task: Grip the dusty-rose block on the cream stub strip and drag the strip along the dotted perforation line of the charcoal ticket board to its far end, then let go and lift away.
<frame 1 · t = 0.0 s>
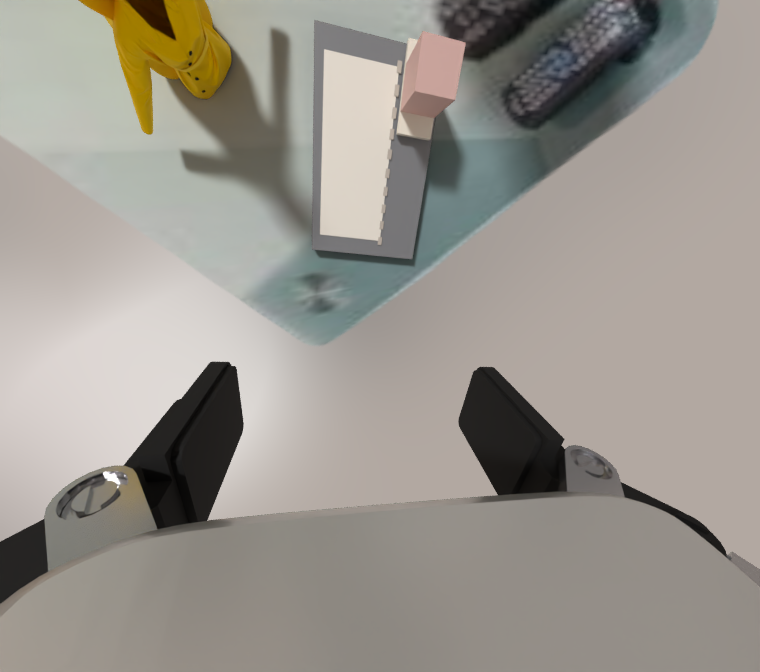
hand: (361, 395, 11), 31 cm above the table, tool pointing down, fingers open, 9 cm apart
stub: (428, 82, 27), point 5 cm above the table, slide at 0.0 cm
ticket board: (370, 163, 34), on the table
figure statuette: (195, 53, 28), on the table
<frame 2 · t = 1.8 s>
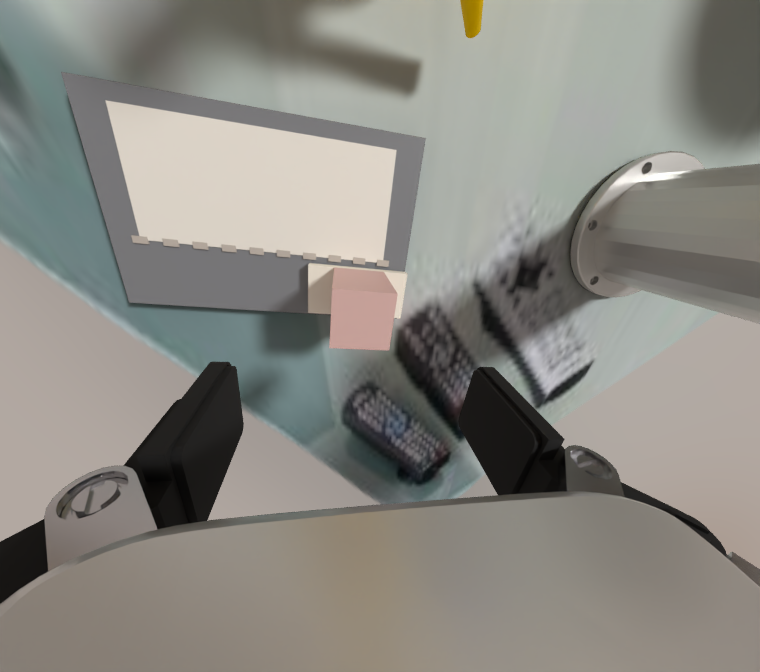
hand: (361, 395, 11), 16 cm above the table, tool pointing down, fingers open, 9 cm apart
stub: (359, 303, 20), point 5 cm above the table, slide at 0.0 cm
ticket board: (273, 223, 22), on the table
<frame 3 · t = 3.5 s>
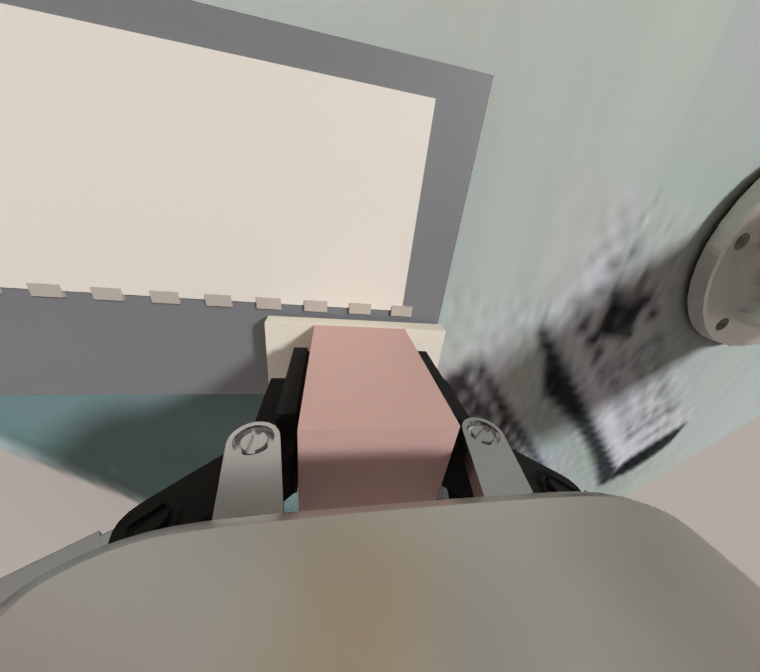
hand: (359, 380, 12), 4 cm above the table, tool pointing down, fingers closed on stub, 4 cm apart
stub: (362, 401, 10), point 5 cm above the table, slide at 0.0 cm, touching gripper
ticket board: (201, 243, 12), on the table
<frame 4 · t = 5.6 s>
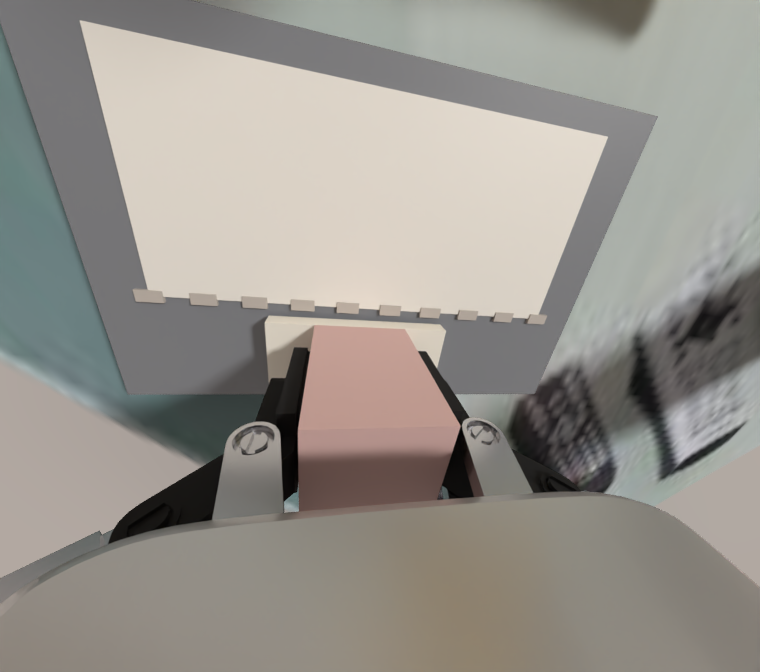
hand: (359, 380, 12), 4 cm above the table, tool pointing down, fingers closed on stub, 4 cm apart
stub: (362, 401, 10), point 5 cm above the table, slide at 7.4 cm, touching gripper
ticket board: (369, 259, 13), on the table
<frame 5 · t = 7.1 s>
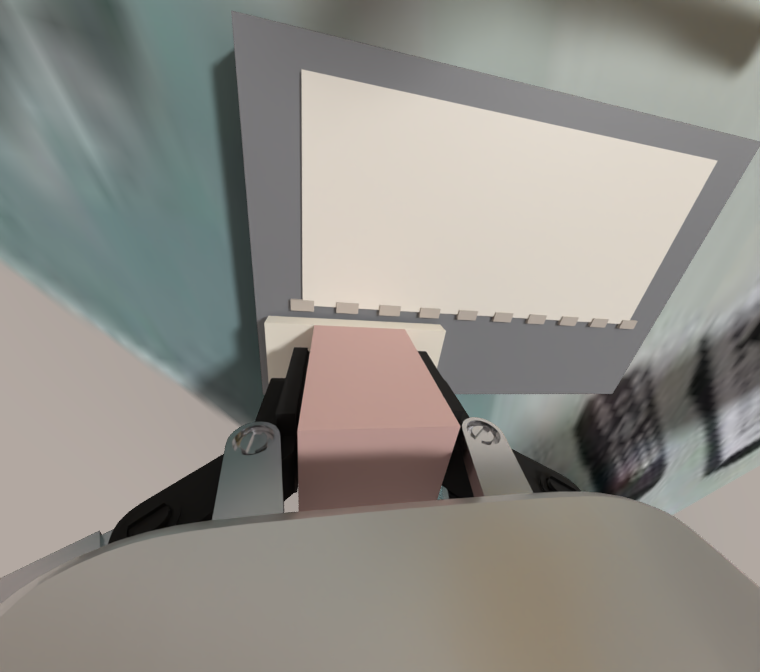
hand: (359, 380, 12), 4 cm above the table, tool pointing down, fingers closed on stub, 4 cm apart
stub: (362, 402, 10), point 5 cm above the table, slide at 13.4 cm, touching gripper
ticket board: (480, 269, 14), on the table
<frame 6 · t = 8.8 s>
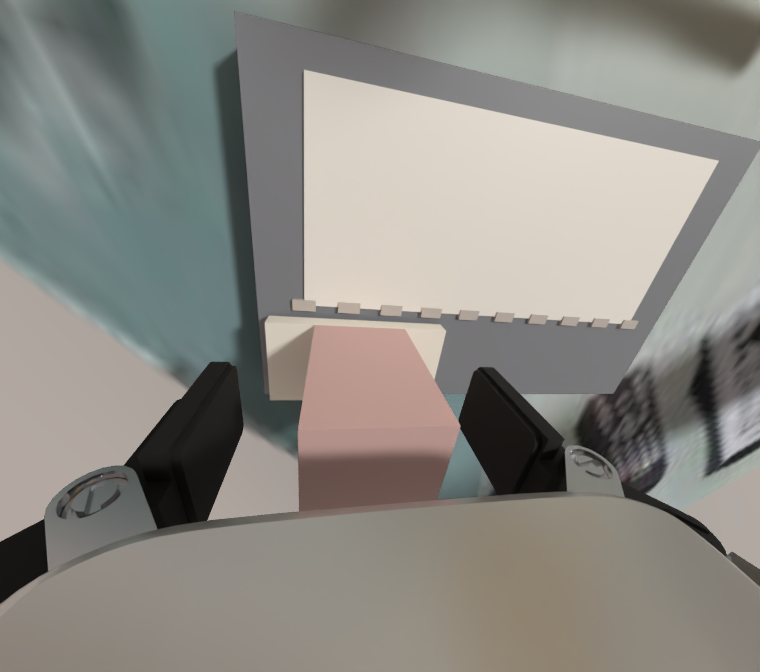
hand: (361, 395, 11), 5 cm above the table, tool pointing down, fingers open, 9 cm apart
stub: (362, 401, 10), point 5 cm above the table, slide at 13.5 cm
ticket board: (482, 270, 14), on the table
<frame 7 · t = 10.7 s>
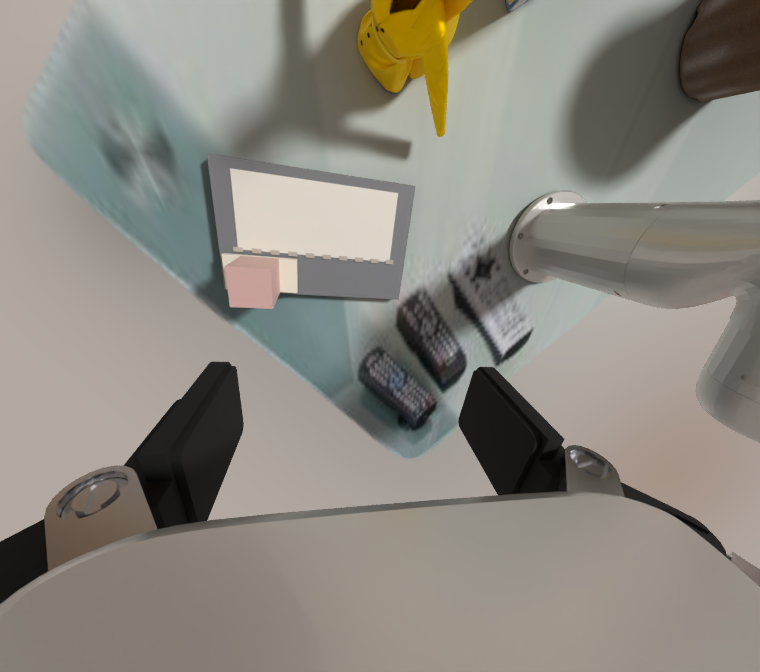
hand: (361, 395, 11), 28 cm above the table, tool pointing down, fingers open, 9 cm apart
plant pot: (720, 39, 33), on the table
stub: (257, 280, 29), point 5 cm above the table, slide at 13.5 cm
ticket board: (318, 237, 33), on the table
figure statuette: (392, 48, 27), on the table
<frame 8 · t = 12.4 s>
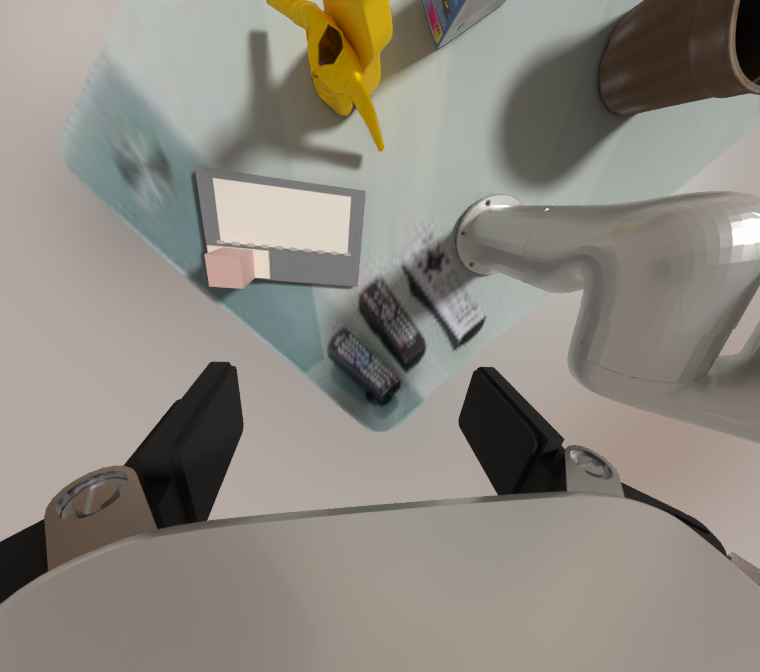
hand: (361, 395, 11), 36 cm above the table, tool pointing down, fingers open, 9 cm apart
plant pot: (636, 61, 38), on the table
stub: (233, 266, 37), point 5 cm above the table, slide at 13.5 cm
ticket board: (288, 233, 41), on the table
figure statuette: (341, 80, 34), on the table
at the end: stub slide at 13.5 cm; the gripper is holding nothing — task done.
